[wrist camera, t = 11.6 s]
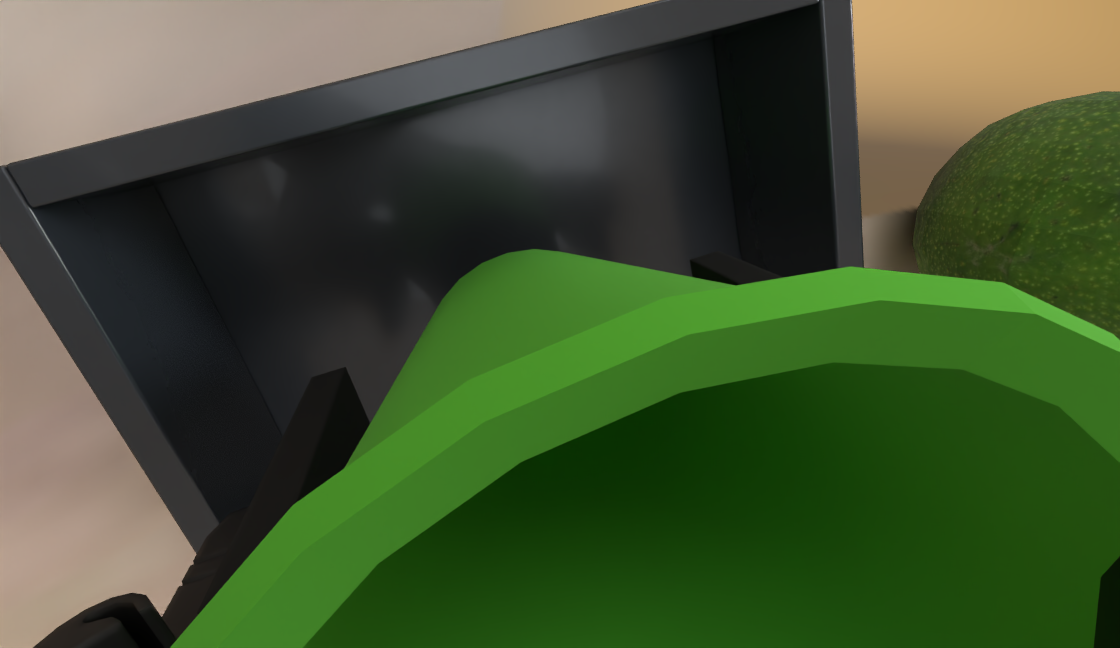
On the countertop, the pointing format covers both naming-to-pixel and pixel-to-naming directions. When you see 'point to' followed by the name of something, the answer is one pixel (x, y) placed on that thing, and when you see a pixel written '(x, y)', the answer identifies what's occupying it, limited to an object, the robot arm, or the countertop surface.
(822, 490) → the cup
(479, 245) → the dark grey open box
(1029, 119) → the fruit
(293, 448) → the robot arm
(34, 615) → the countertop surface
